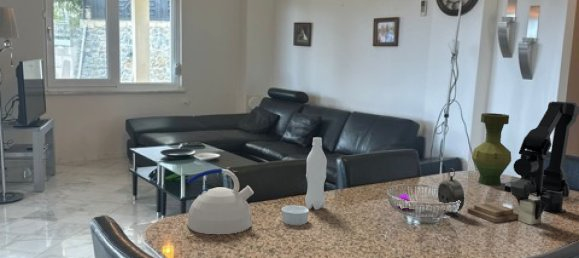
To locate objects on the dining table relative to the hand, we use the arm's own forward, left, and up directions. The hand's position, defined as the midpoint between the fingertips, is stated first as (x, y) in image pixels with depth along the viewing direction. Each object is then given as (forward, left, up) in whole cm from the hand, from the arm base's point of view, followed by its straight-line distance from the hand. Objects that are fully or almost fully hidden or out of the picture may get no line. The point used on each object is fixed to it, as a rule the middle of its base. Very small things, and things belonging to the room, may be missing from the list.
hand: (529, 217), depth 182 cm
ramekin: (+73, -31, -2) cm, 79 cm away
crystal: (+29, -30, -2) cm, 42 cm away
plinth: (+6, -10, -2) cm, 12 cm away
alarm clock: (+19, -18, -2) cm, 26 cm away
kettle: (+96, -38, -2) cm, 103 cm away
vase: (-31, -45, -2) cm, 55 cm away
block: (0, 0, -2) cm, 2 cm away
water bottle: (+59, -42, -2) cm, 72 cm away
